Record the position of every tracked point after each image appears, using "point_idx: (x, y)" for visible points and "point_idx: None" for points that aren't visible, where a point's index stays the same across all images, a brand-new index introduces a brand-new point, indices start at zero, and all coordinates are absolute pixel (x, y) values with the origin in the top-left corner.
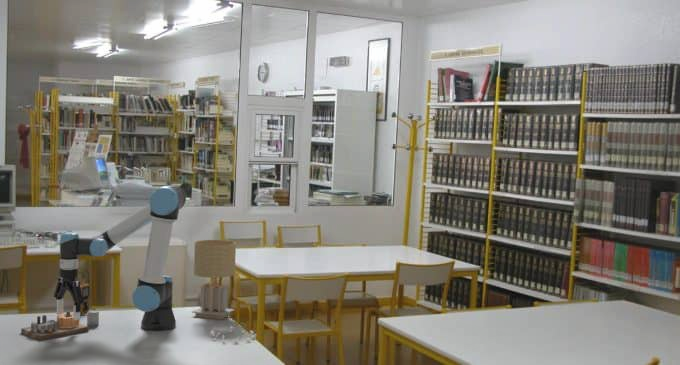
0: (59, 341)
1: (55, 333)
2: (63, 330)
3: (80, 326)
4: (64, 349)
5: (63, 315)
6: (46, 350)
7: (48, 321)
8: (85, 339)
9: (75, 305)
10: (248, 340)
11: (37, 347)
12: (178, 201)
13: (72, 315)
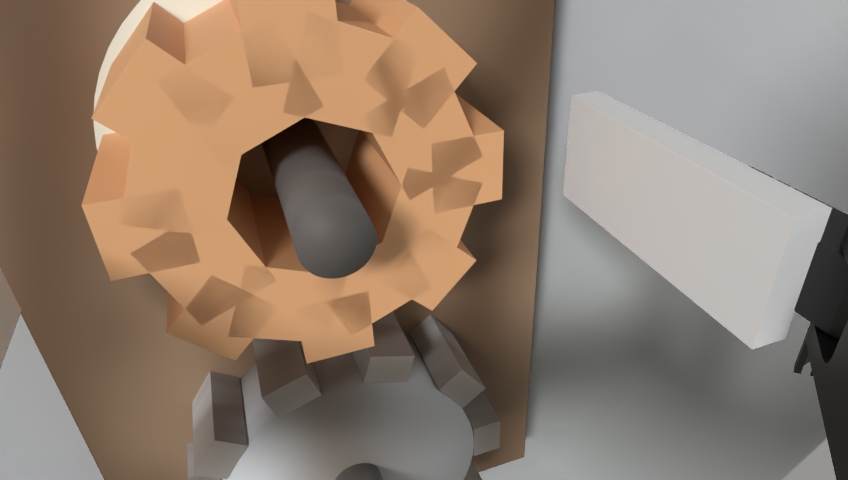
0: (629, 314)
1: (528, 343)
2: (503, 264)
3: (471, 14)
4: (798, 326)
5: (233, 263)
6: (727, 414)
7: (331, 441)
8: (750, 112)
9: (781, 311)
10: None
11: (637, 450)
12: None
13: (315, 118)
